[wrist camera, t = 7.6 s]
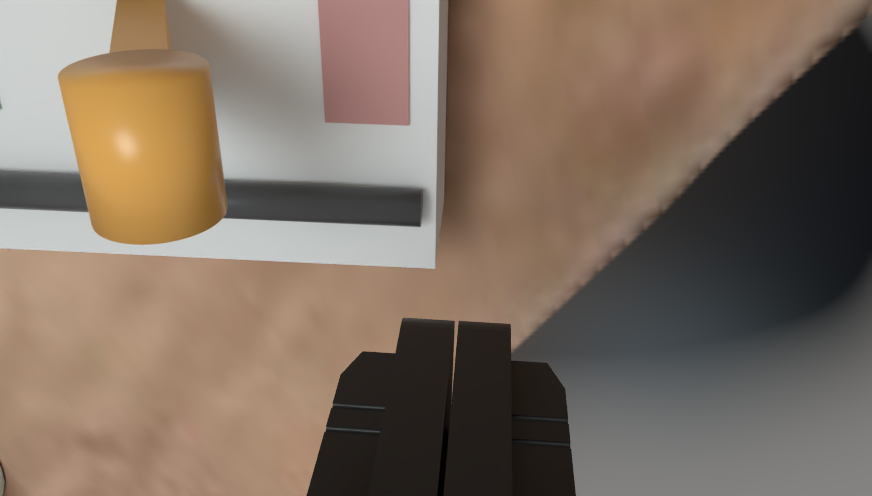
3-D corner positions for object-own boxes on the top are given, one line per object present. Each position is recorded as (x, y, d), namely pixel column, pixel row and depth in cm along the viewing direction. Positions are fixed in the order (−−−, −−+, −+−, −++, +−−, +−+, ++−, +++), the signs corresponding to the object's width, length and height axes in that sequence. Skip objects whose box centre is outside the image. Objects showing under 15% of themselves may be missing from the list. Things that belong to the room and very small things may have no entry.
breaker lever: (190, -20, 26) (213, 85, 17) (205, 87, 28) (233, 234, 19) (85, -15, 25) (50, 98, 16) (108, 95, 27) (87, 253, 18)
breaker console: (453, -266, 27) (438, -286, 21) (444, 200, 36) (431, 296, 30) (-102, -272, 29) (-295, -293, 22) (21, 182, 37) (-87, 271, 31)
